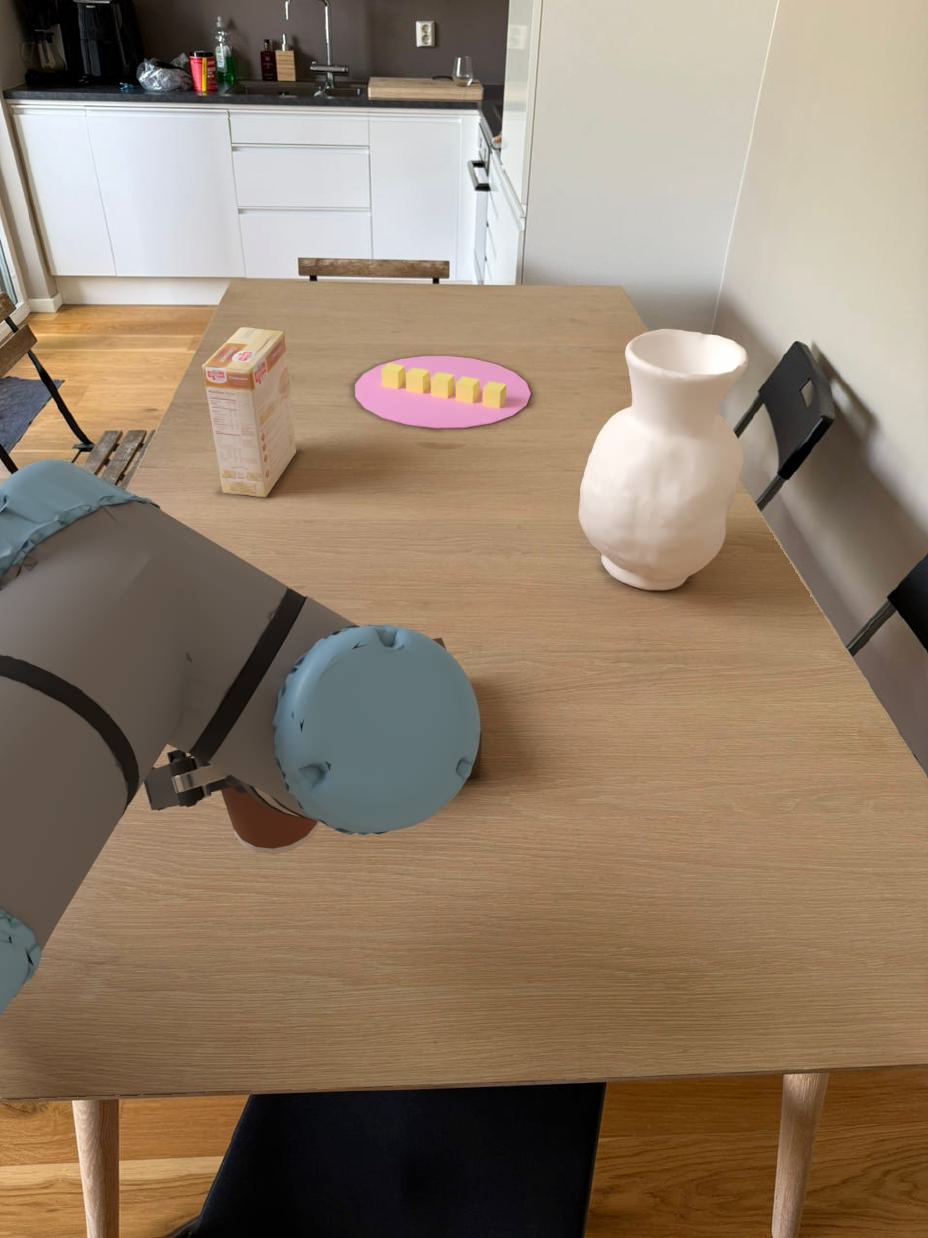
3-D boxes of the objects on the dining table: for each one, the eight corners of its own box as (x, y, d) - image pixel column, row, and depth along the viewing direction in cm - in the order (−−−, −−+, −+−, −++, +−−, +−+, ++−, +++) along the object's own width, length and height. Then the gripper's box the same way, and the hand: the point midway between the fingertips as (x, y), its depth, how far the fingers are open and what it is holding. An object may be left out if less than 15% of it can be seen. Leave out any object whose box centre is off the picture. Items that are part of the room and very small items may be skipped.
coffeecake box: (255, 447, 141) (239, 325, 130) (298, 452, 141) (286, 329, 129) (219, 493, 130) (199, 364, 118) (266, 498, 129) (251, 369, 117)
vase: (556, 600, 111) (583, 370, 93) (590, 517, 127) (619, 307, 109) (707, 632, 107) (766, 397, 89) (722, 542, 123) (775, 327, 105)
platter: (496, 442, 145) (497, 423, 143) (322, 407, 154) (320, 389, 152) (552, 373, 169) (554, 356, 167) (399, 346, 178) (398, 329, 176)
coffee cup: (283, 755, 71) (267, 638, 64) (364, 814, 66) (358, 695, 59) (188, 823, 65) (159, 703, 58) (270, 893, 61) (249, 772, 54)
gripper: (109, 893, 41) (120, 854, 62) (524, 748, 49) (409, 757, 70) (66, 735, 41) (91, 750, 62) (483, 618, 49) (381, 666, 70)
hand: (259, 754), depth 66 cm, fingers closed on coffee cup, 9 cm apart
